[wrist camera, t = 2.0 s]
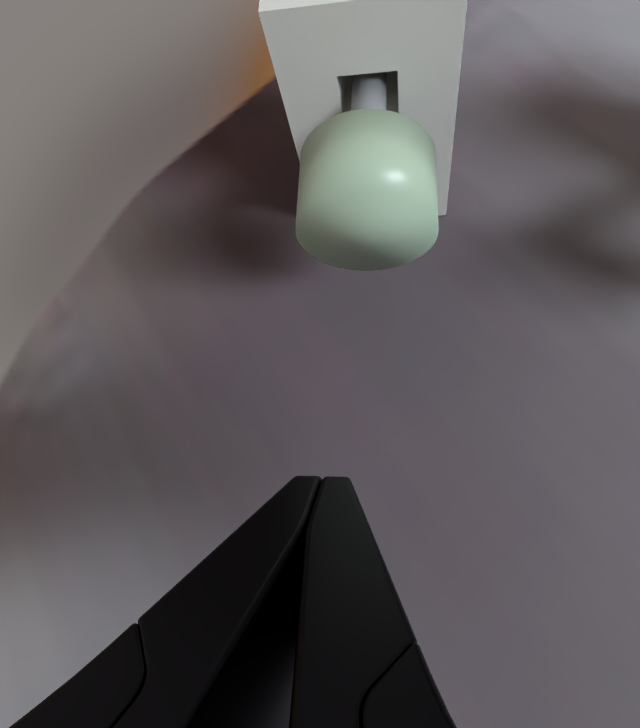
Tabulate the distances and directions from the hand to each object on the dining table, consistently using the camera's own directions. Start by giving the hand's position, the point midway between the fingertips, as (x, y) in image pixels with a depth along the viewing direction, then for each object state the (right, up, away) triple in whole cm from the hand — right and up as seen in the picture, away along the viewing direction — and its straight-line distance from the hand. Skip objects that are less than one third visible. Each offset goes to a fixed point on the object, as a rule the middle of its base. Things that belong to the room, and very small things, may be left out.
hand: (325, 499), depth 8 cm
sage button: (+2, +8, +12) cm, 14 cm away
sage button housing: (+3, +11, +18) cm, 21 cm away
